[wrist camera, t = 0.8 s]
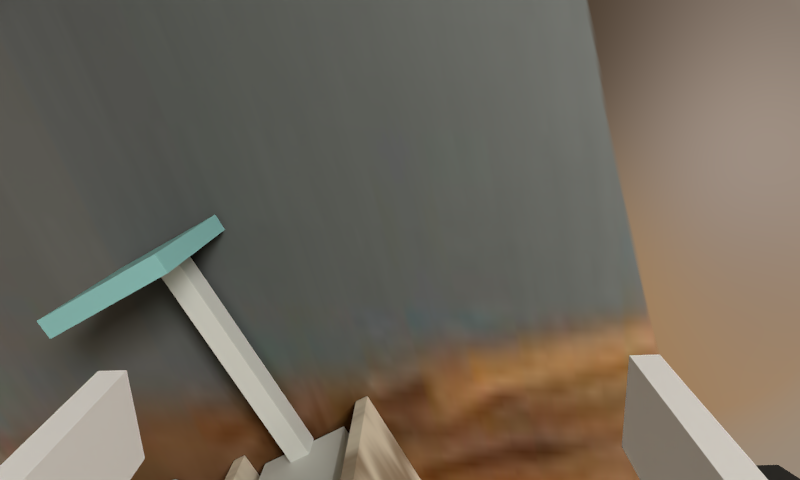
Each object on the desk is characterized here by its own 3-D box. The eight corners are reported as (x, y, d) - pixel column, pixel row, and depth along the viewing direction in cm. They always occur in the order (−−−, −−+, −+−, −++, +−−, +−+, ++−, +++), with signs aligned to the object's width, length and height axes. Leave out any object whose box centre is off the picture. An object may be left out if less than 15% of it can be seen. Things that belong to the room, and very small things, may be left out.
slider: (120, 268, 39) (36, 321, 31) (215, 214, 38) (154, 254, 29) (266, 471, 43) (228, 568, 35) (355, 429, 42) (339, 519, 34)
